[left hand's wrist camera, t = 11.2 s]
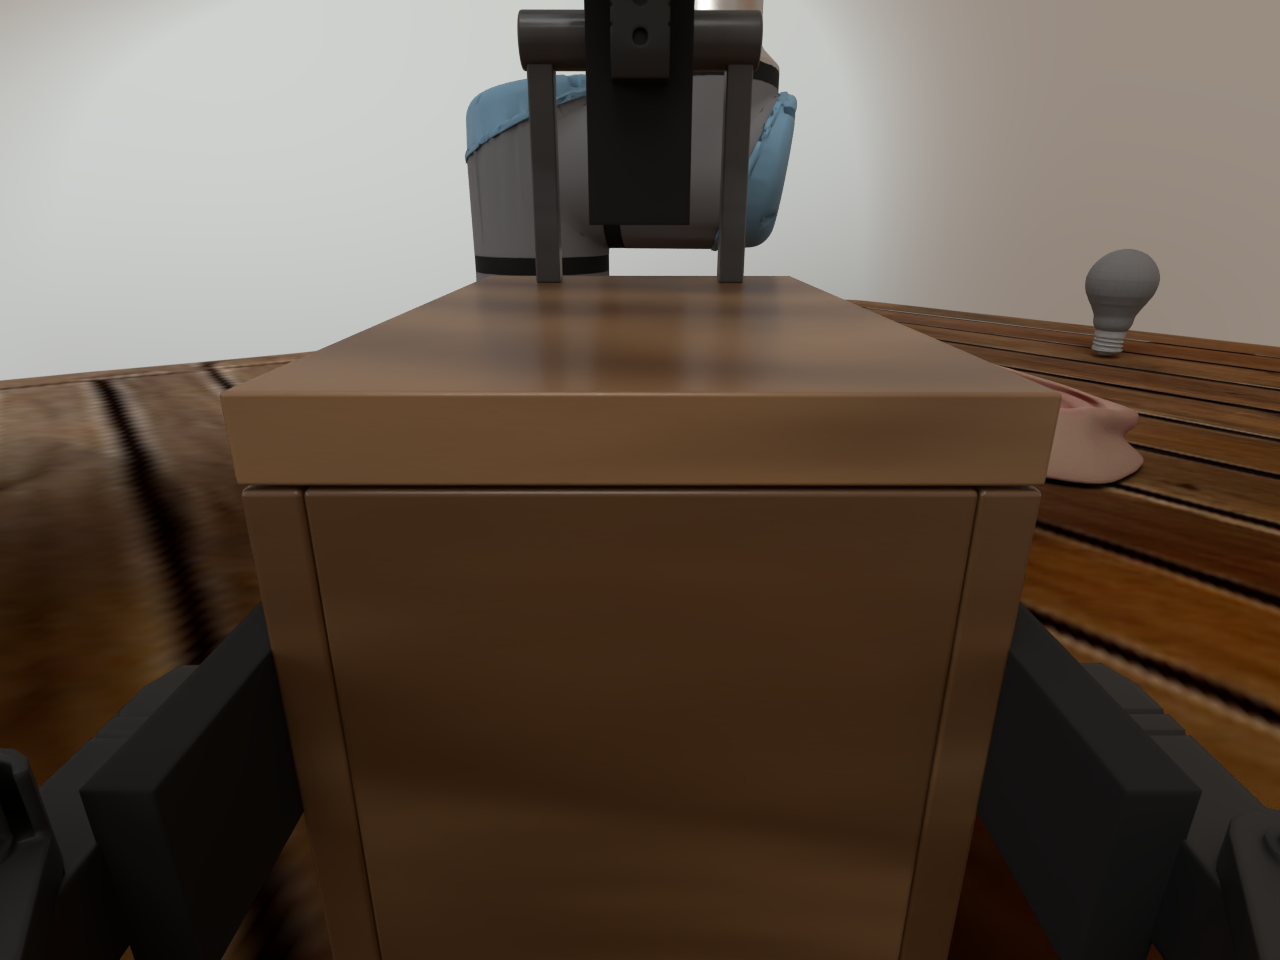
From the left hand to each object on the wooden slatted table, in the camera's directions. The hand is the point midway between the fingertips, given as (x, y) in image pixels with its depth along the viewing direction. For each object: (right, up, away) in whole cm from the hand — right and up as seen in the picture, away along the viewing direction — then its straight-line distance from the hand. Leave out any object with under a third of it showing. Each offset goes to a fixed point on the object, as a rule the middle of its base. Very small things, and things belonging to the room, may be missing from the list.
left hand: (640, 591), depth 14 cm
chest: (0, -5, +6) cm, 8 cm away
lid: (0, +5, +3) cm, 5 cm away
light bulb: (+46, +14, +59) cm, 77 cm away
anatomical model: (+24, +4, +31) cm, 40 cm away
